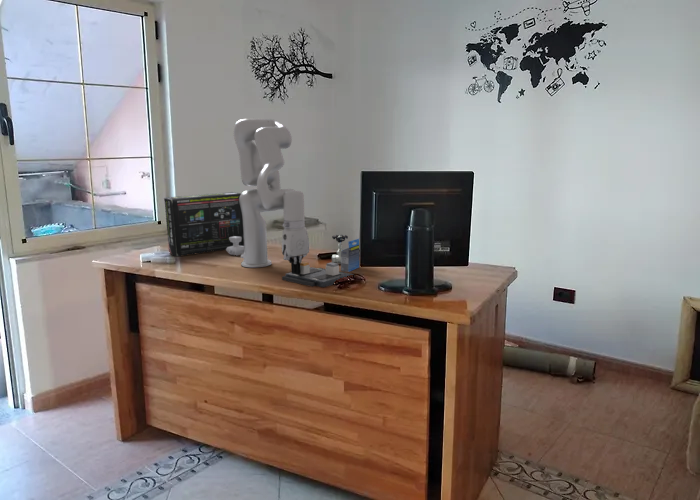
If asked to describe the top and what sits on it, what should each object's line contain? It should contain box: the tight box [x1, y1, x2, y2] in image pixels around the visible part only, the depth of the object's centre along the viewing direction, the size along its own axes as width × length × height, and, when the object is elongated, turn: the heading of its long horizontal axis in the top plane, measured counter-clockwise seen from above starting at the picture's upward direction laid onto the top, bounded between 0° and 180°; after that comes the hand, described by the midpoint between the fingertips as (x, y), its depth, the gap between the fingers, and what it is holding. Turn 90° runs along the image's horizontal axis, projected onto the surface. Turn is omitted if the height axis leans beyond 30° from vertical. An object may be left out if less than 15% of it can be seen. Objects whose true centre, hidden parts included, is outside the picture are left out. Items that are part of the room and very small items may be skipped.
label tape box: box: [340, 238, 360, 273], centre depth 224 cm, size 9×4×12 cm, turn 149°
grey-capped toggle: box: [325, 261, 340, 276], centre depth 208 cm, size 4×3×4 cm
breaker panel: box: [284, 267, 350, 288], centre depth 210 cm, size 20×14×2 cm
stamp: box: [225, 236, 244, 257], centre depth 257 cm, size 9×7×8 cm
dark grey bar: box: [281, 275, 315, 288], centre depth 205 cm, size 16×1×1 cm, turn 49°
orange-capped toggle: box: [300, 261, 311, 274], centre depth 210 cm, size 4×3×4 cm
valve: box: [331, 234, 349, 265], centre depth 234 cm, size 7×7×12 cm
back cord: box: [318, 267, 355, 276], centre depth 217 cm, size 18×1×1 cm, turn 49°
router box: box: [163, 191, 244, 257], centre depth 266 cm, size 36×11×27 cm, turn 127°
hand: (295, 273), depth 208 cm, fingers closed
